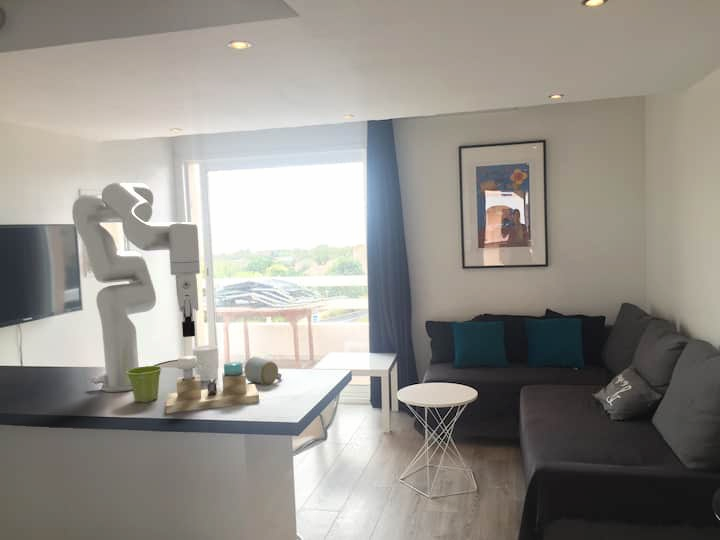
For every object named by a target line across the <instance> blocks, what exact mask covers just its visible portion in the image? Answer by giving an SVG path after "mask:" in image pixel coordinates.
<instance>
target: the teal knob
mask: <svg viewBox="0 0 720 540" xmlns="http://www.w3.org/2000/svg"><path fill="white" fill-rule="evenodd" d="M243 370H244V369H243V362H242V361H240V362H239V361H231V362H227V363H224V364H223V373H224V374H225V375H229V376H233V375H238V374H241V373H243Z"/></svg>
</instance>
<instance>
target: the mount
mask: <svg viewBox="0 0 720 540" xmlns="http://www.w3.org/2000/svg"><path fill="white" fill-rule="evenodd" d="M221 375H222V376H221V379H222V387H217V394H216V395H212V396H209V395H208V388H206V389H201V388H202V387H201V381H200V375H196V374H195V375H193V380H187V381H184V376H180V377H177V378H176V392H172V393H167V395H166V400H165V414H172V413H182V412H191V411H197V410H205V409H213V408H222V407H230V406H231V407H232V406H238V405H245V404H246V403H248V404H254V403H253V402H256V403H260V395H259V392H258V389H257V387H256V383H251V384H250V383H249V384H247V379H246V375H245V372H244V369H243V373H241V374H238V375H233V376H229V375H225V374H224V372H222V373H221Z"/></svg>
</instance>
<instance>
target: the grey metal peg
mask: <svg viewBox="0 0 720 540" xmlns="http://www.w3.org/2000/svg"><path fill="white" fill-rule="evenodd" d="M215 381H216V379H210V380H209V381H208V383H206V384H207V386H206V387H207V388H206V389H208V395H209V396H212V395H216V394H217V388H218V387H217V382H215Z"/></svg>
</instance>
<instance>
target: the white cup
mask: <svg viewBox="0 0 720 540" xmlns="http://www.w3.org/2000/svg"><path fill="white" fill-rule="evenodd" d="M192 356H196V357H197V367H195V368H194V373H195V376H196V375H200V382H209V380H210V379H214V380H217V379H219V347H218V346H217V345H214V344H213V345H212V344H208V345H200V346H195V347H193V348H192Z"/></svg>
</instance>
